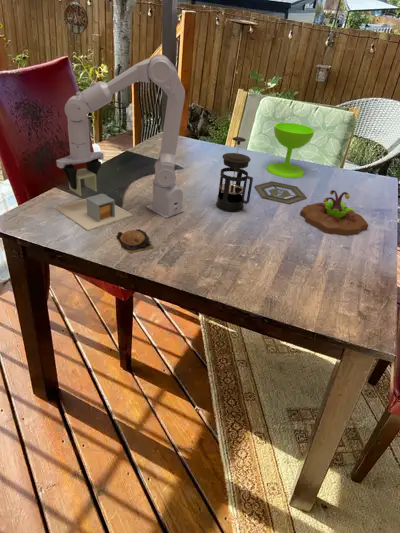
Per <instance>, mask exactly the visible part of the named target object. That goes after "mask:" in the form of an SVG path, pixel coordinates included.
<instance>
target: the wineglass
mask: <svg viewBox="0 0 400 533" xmlns="http://www.w3.org/2000/svg"><path fill="white" fill-rule="evenodd" d="M273 128H274V129H273V130H274V136H275V138H276V140H277V142H278V143H279V144H280V145H281V146H283V147H285V148H287V150H286V155H285V160H284V162H274V163H270V164H268V165H267V166H266V171H267V172H269V173H270V174H272V175H274V176H276V177H281V178H286V179H299V178H301V177H303V176H304V175H305V172H304V170H303V169H302V168H301V167H300V166H298V165H295V164H291V163H290V161H291V157H292V152H293V149H295V150H296V149H299V148H303V147H304V146H305V145H307V143H309V142H310V141H311V140H312V138H313V136H314V134H315V129H314V128H312V127H310V126H307V125H305V124H299V123H293V122H278V123H276V124H274V127H273Z"/></svg>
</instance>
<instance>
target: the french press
mask: <svg viewBox="0 0 400 533" xmlns="http://www.w3.org/2000/svg"><path fill="white" fill-rule="evenodd" d="M232 140H233V141H234V142H236V145H237V148H236V152H228V153H224V154H222V159H223V165H224V166H226V167H223V168H222V169H220V173H219V174H220V178H219V187H218V194H217V198H216V199H217V200H216V204H215V206H216V208H218V209H219V210H221V211H224V212H229V213H237V212H240V211H243V209H244V207H245V206H244V205H247V204H249V202H250V198H251V192H252V186H253V181H254V180H253V179H254V177H252V176H250V175H249V172H248V171H246V168H248V167H249V162H251V159H252V158H250V156H248V155H245V154H244V153H243V154H242V153H239V147H240V144H241V142H242V143H243V142H246V141H247V140H246V139H245V138H244V137H241V136H234V137H232ZM244 169H245V170H244ZM226 172H233V176H231V175H230V176H229V175H227V174H224V173H226ZM235 173H237V174H235ZM235 175H236V176H235ZM243 175H244V176H243ZM248 180H249V184H248V191H247V194H246V189H247V188H246V187H247V183H248ZM223 181H224V182H223ZM234 182H235V183H234ZM242 182H243V186H241V184H242ZM245 195H246V200H245Z"/></svg>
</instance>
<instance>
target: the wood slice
mask: <svg viewBox="0 0 400 533" xmlns="http://www.w3.org/2000/svg"><path fill="white" fill-rule="evenodd" d="M115 237H116V240H117V241H118V243H119V244H120V245H121V248H123V249H124V250H125V251H126V252H127V253H129V254H135V253H139V252H140V253H141V252H144V251H147V250H152V249H155V246H154V245H153V243H152V241H150V238H149V236H148V234H147V232H145V231H144V230H142V229H140V228H138V229H134V230H133V229H132V230H128V231H124V232H122V231H119V232H117V234H116V235H115Z"/></svg>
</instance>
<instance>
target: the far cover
mask: <svg viewBox="0 0 400 533" xmlns="http://www.w3.org/2000/svg"><path fill="white" fill-rule="evenodd" d="M83 179H84V186H85V187H87V188H89V189H90V190H92V191H93V192H98V189H97V184H98V183H97V176H96V174H94V173H93V172H91V171H89V170H87V168H86V167H84V168H79V169H77V174H76V184H77V188H76V189H75V190H74V189H72V188H71V186H70V183H69V182H68V187H69V190H70V191H72V192H73V193H75V194H77V195H79V196H80V197H81V196H82V185H81V184H82V183H81V180H83Z"/></svg>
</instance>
